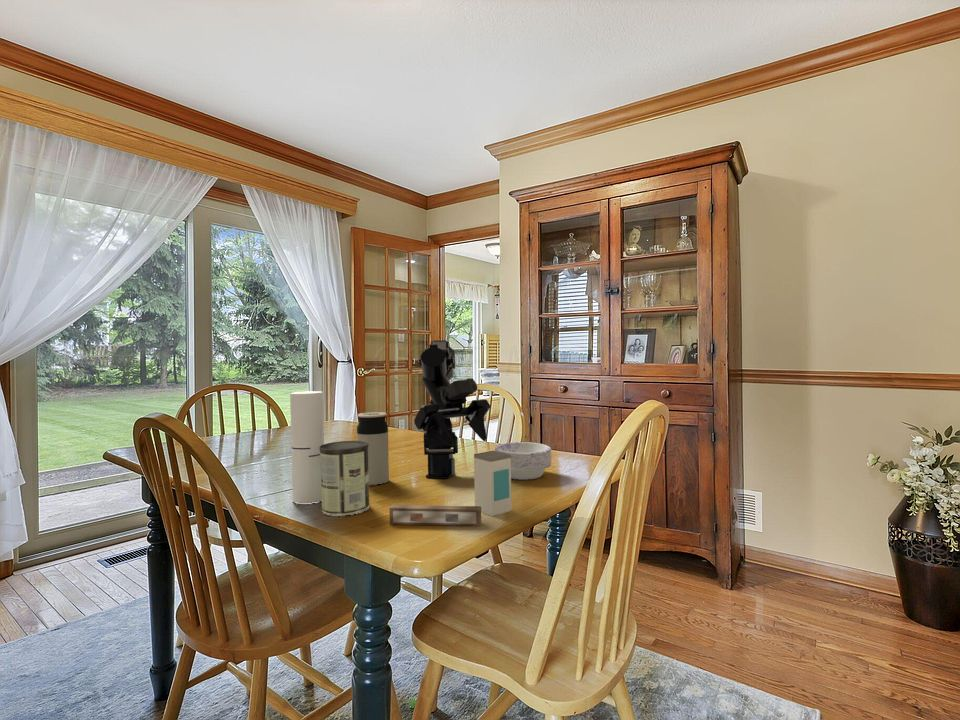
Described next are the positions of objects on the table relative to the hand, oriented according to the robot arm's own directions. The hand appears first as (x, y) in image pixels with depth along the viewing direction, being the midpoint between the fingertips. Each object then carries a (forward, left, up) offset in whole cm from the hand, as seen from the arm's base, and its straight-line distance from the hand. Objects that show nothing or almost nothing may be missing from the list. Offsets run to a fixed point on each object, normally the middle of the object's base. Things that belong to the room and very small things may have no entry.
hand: (469, 442), depth 112 cm
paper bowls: (+7, +26, -14) cm, 30 cm away
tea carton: (+6, -5, -13) cm, 16 cm away
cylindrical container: (-37, -7, -14) cm, 40 cm away
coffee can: (-25, -11, -14) cm, 31 cm away
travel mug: (-30, +11, -14) cm, 35 cm away
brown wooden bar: (-3, -15, -13) cm, 20 cm away
